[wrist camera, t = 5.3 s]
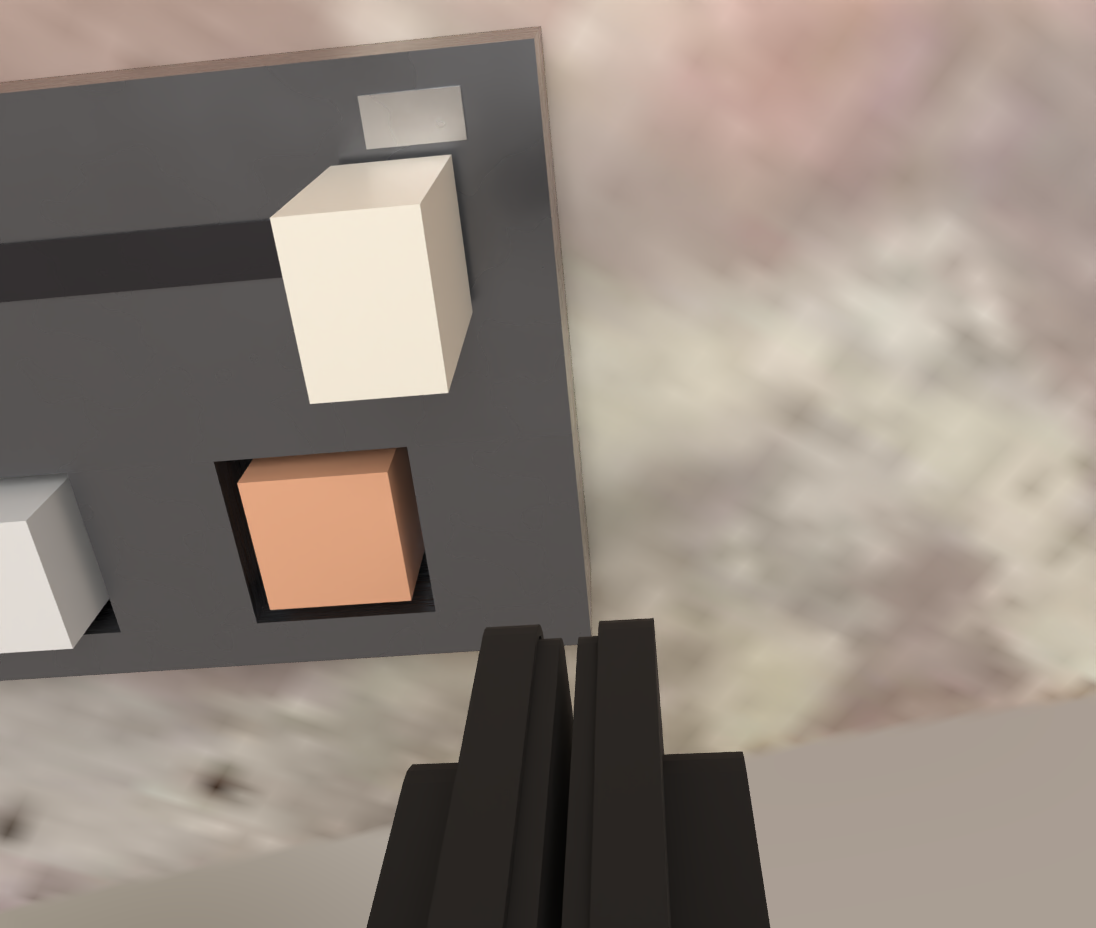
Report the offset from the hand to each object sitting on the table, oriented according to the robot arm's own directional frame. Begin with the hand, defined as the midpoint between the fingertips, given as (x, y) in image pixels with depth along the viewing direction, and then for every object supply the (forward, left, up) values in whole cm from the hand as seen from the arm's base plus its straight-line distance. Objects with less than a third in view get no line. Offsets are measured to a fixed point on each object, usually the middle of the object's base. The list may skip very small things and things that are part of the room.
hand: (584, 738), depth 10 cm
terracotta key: (+6, +5, -15) cm, 17 cm away
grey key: (+14, +5, -14) cm, 21 cm away
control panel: (+10, +1, -16) cm, 19 cm away
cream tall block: (+3, -2, -13) cm, 13 cm away
